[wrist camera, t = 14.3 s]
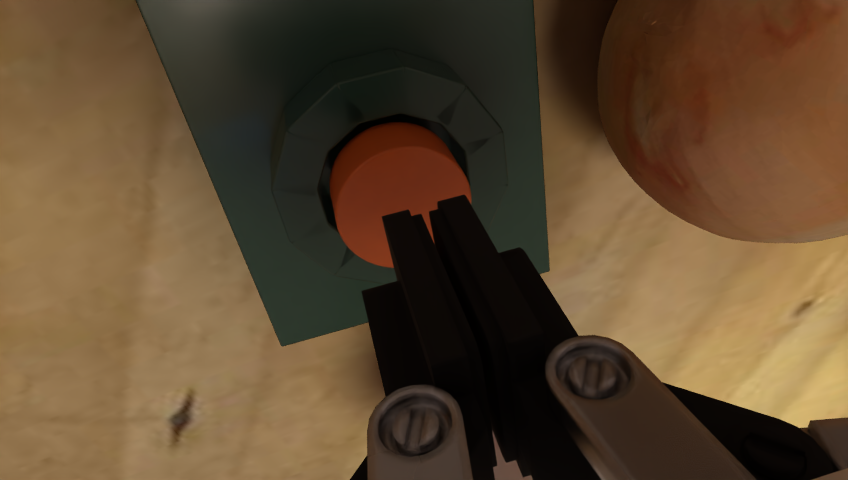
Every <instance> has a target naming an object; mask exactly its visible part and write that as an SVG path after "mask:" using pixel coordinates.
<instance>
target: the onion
mask: <svg viewBox="0 0 848 480" xmlns="http://www.w3.org/2000/svg"><path fill="white" fill-rule="evenodd" d="M598 107H599V113H600V118H601V122H602V125H603V129H604V132H605V135H606V137H607V140H608V142H609V144H610V146H611V148H612V150H613V151H614V153H615V155H616V156H617V158H618V160H619V162H620V163H621V165H622V166H623V167H624V169H625V170H626V171H627V172H628V174H629V175H630V176H631V177H632V179H633V180H634V181H635V182H636V183H637V184H638V185H639V186H640V187H641V188H642V189H643V190H644V191H645V192H646V193H647V194H648V195H649V196H650V197H652V198H653V199H654V200H655V201H656V202H657V203H659V204H660V205H661V206H662V207H664V208H665V209H667V210H668V211H669V212H671V213H673V214H674V215H676V216H678V217H679V218H681V219H683V220H685V221H686V222H688V223H691V224H693V225H695V226H697V227H699V228H702V229H704V230H706V231H709V232H711V233H714V234H716V235H719V236H722V237H726V238H730V239H735V240H742V241H751V242H763V243H804V242H812V241H820V240H825V239H830V238H835V237H839V236H844V235H848V0H618V1H617V3H616V5H615V8H614V10H613V12H612V15H611V17H610V19H609V22H608V24H607V26H606V29H605V33H604V36H603V40H602V45H601V50H600V57H599V64H598Z"/></svg>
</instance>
